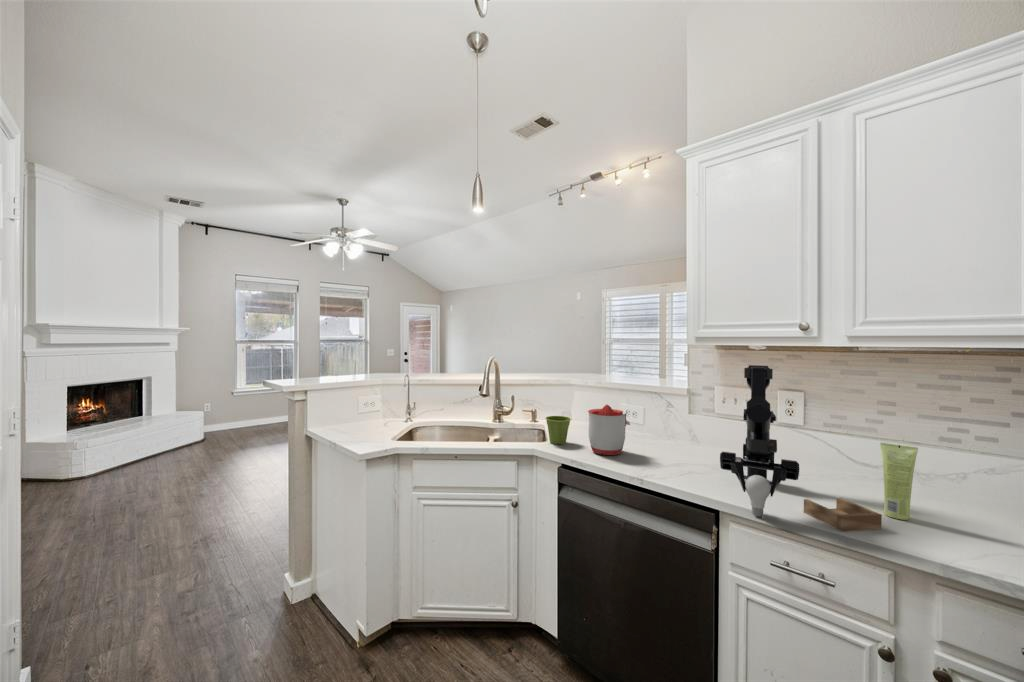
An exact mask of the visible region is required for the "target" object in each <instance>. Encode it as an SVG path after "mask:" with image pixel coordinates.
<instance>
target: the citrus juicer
mask: <svg viewBox="0 0 1024 682" xmlns="http://www.w3.org/2000/svg"><path fill="white" fill-rule="evenodd" d="M587 412H588V439H589V444H590V449H591V451H592V452H593V453H596V454H597V455H599V454H603V456H618V455H620V454H621V453H622V451H623V449H624V445H625V440H626V427H627V426H631V424H630V421H628V420H627V413H624V412H623V410H622V409H621V410H619V409H613V408H612V407H611V406H610V405H609V404H605V405H604V406H603V407H602V408H593V409H589V410H587ZM617 454H618V455H617Z"/></svg>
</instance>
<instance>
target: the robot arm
mask: <svg viewBox="0 0 1024 682" xmlns="http://www.w3.org/2000/svg"><path fill="white" fill-rule="evenodd" d="M743 369H744V370H743V371H744V373H743V374H744V375H743V376H744V377H743V378H745V379H746V385H747V387H748V388H749V389H750V391H751V392H750V399H749V400H748V401H746V408H744V409H743V422H744V421H746V437H745V443H743V444H742V457H740V456H737V453H735V452H729V451H721V452H720V454H719V463H720V464H719V465H720V469H721V470H724V471H730V473H732V474H735V476H736V477H737V479H738V481H739V483H740V486H741V489H742V491H743V493H746V489H745V481H746V479H747V478H748V477H750V476H752V475H759V476H762V477H764V478H765V479H767V480H768V482H769V483H770V485H771V493H770V497H771V498H772V497H773V496H774V494H775V492H776V490H777V488H778V486H779V485H780V484H781V482H786V481H787V480H792V481H798V480H799V476H800V463H799V462H798V460H791V459H783V458H781V460H780V463H775V454H776V453H777V452H778V440H777V439H772V438H770V436H771V435H770V430H771V424H774V422H776V421H777V416H776V414H775V413H774V411H772V410H771V404H770V402H769V401H768V400H767V399H766V396H767V395H766V394H767V393H766V390H767V389H768V388H769V386H770V383H771V380H773V378H774V377H773V374H774V373H773V368H769V365H759V364H758V365H756V364H755V365H754V364H750V365H748V367H744V368H743ZM744 467H746V469H747V473H746V474H747V475H745V472H744ZM768 471H772V479H771V481H770V480H769V479H768Z"/></svg>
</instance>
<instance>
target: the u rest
mask: <svg viewBox="0 0 1024 682" xmlns="http://www.w3.org/2000/svg"><path fill="white" fill-rule="evenodd" d="M803 513H804V514H806V515H808V516H810V517H812V518H814V519H816V520H817V521H821V522H822V523H824V524H827V525H828V526H830V527H832V528H834V529H836V530H839V531H840V532H850V531H852V532H855V531H866V530H870V531H871V530H882V520H883V519H882V518H883V517H882V515H883V514H881V513H878V512H876V511H873V510H872V509H870V508H867V507H864V506H862V505H859V504H858V503H857V504H856V502H852V501H850V500H848V499H845V498H843V497H836V507H835V508H829V507H826V506H823V505H821V504H819V503H818V502H815V501H812V500H811V499H808V498H805V499H803Z"/></svg>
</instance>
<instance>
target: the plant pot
mask: <svg viewBox="0 0 1024 682" xmlns="http://www.w3.org/2000/svg"><path fill="white" fill-rule="evenodd" d="M544 419H545V420H546V421H545V422H546V425H547V432H548V438H549V443H550V444H552V445H565V444H566V443H567V437H568V433H569V432H568V431H569V426H570V423H571V420H572V418H571V417H570V416H564V415H550V416H545V417H544Z"/></svg>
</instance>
